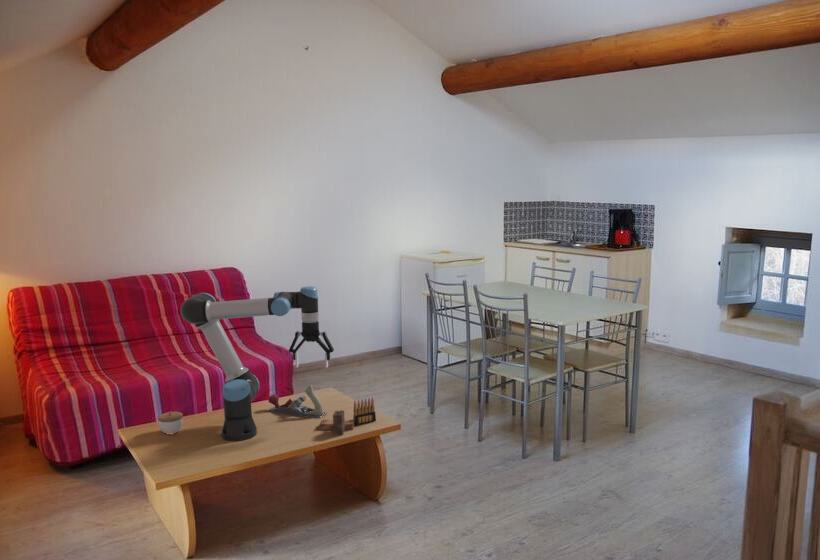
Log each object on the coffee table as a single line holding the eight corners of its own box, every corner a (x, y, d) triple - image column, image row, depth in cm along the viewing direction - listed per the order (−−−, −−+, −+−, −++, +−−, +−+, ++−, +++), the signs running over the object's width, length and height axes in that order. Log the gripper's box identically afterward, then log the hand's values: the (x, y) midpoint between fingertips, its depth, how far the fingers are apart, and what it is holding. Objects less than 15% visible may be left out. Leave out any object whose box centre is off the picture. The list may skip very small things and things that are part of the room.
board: (319, 429, 318) (319, 424, 318) (321, 425, 324) (321, 419, 323) (352, 429, 317) (352, 424, 317) (354, 425, 322) (354, 419, 322)
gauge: (333, 435, 311) (332, 413, 310) (337, 426, 321) (336, 405, 319) (342, 435, 311) (341, 413, 309) (346, 426, 321) (345, 405, 319)
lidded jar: (159, 438, 313) (157, 417, 311) (158, 430, 322) (156, 410, 321) (185, 434, 317) (183, 414, 315) (183, 426, 326) (181, 406, 325)
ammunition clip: (374, 421, 328) (373, 395, 326) (376, 422, 327) (375, 396, 325) (353, 425, 323) (352, 400, 321) (355, 426, 321) (353, 401, 320)
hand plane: (321, 419, 332) (319, 388, 330) (265, 411, 344) (263, 381, 342) (328, 414, 338) (327, 384, 336) (274, 407, 351) (272, 377, 349)
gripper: (280, 322, 317) (282, 369, 320) (336, 323, 315) (337, 369, 318) (285, 319, 325) (287, 364, 328) (339, 319, 322) (340, 364, 326)
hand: (312, 367), depth 323 cm, fingers open, 13 cm apart
